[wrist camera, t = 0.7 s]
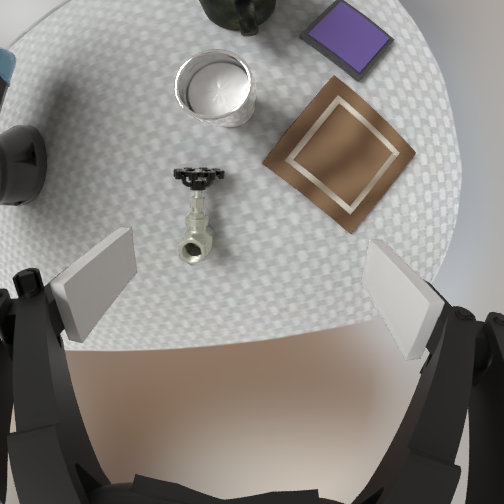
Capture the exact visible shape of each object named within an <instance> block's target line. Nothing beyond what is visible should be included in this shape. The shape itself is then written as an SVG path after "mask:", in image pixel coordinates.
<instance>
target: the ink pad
mask: <svg viewBox="0 0 504 504" xmlns="http://www.w3.org/2000/svg"><path fill="white" fill-rule="evenodd" d="M300 39H301V40H303V41H304V42H306V43H307V44H309V45H310V46H312V47H313V48H315V49H316V50H317V51H319V52H320V53H322V54H323V55H324V56H326V57H327V58H328V59H330V60H331V61H332V62H334V63H335V64H336V65H338V66H339V67H340V68H341V69H343V70H344V71H345V72H346V73H348V74H349V75H350V76H351V77H352V78H354V79H355V80H356V81H359V80H360V79H361V78H362V77H363V75H364V74H365V73H366V72H367V71H368V70H369V68H370V67H371V66H372V65H373V64H374V63H375V61H376V60H377V59H378V58H379V57H380V56H381V54H382V53H383V52H384V51H385V50H386V49H387V48H388V46H389V45H390V44H391V43H392V42H393V41H394V39H393V38H392V37H391V36H389V35H388V34H387V33H386V32H385V31H384V30H382V29H381V28H380V27H379V26H377V25H376V24H375V23H374V22H372V21H371V20H370V19H369V18H367V17H366V16H365V15H363V14H362V13H361V12H359V11H358V10H357V9H355V8H354V7H352V6H351V5H350V4H348V3H347V2H345V1H344V0H336V1H335V2H334V3H333V4H332V5H330V6H329V7H328V8H327V9H326V10H325V11H324V12H323V13H322V14H321V15H320V16H319V17H318V18H317V19H316V20H315V21H314V22H313V23H312V24H311V25H310V26H309V27H308V28H307V29H306V30H305V31H304V32H303V33H302V34H301V35H300Z"/></svg>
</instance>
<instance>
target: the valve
mask: <svg viewBox="0 0 504 504" xmlns="http://www.w3.org/2000/svg"><path fill="white" fill-rule="evenodd" d="M224 172H225V171H224V170H220V169H217V168H213V169H207V168H206V167H200V168H199V169H192V168H190V167H185V168H184V169H174V177H175V179H181V181H182V183H183V184H184V185H185V186H187V187H190V189H191V190H194V196H193V197H191V208H193V211H192V212H191V213H190V215H188V216H187V217H186V225H187V226H189V230H188V231H187V232H186V233H185V234H184V236H183V238H182V240H181V242H180V243H179V258H181V259H182V260H183V261H185V262H186V263H188V264H190V265H195V264H197V263H199V262H201V261H203V260H205V258H206V256H207V254H208V253H209V252H210V250H211V248H212V243H213V230H212V229H211V228H209V227H208V226H207V225H208V221H209V217H208V216H206V215H204V212H203V211H202V208H204V205H205V197H203V196H202V190H205V189H206V187H209V186H211V184H212V182H213V180H215V177H216V176H218V177H219V179H224ZM186 177H189V180H190V181H191V182H187V181H186ZM205 177H207V183H206V178H205Z"/></svg>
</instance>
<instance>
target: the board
mask: <svg viewBox="0 0 504 504" xmlns="http://www.w3.org/2000/svg"><path fill="white" fill-rule="evenodd" d="M415 153H416V152H415V151H414V150H413V149H412V148H411V147H410V146H409V145H408V143H407V142H406V141H405V140H404V139H403V138H402V137H401V136H400V135H399V134H398V133H397V132H396V131H395V130H394V129H393V128H392V127H391V126H390V125H389V124H388V123H387V122H386V121H385V120H384V119H383V118H382V117H381V116H380V115H379V114H378V113H377V112H376V111H375V110H374V109H373V108H372V107H371V106H370V105H369V104H367V103H366V102H365V101H364V100H363V99H362V98H361V97H360V96H359V95H357V94H356V93H355V92H354V91H353V90H352V89H350V88H349V87H348V86H347V85H346V84H344V83H343V82H342V81H341V80H339V79H338V78H337V77H336V76H333V77H332V78H331V79H330V80H329V81H328V82H327V84H326V85H325V86H324V87H323V88H322V89H321V91H320V92H319V93H318V94H317V95H316V97H315V98H314V99H313V100H312V101H311V103H310V104H309V105H308V106H307V107H306V109H305V110H304V111H303V112H302V113H301V115H300V116H299V117H298V118H297V120H296V121H295V122H294V123H293V125H292V126H291V127H290V128H289V129H288V131H287V132H286V133H285V134H284V136H283V137H282V138H281V139H280V141H279V142H278V143H277V145H276V146H275V147H274V148H273V150H272V151H271V152H270V153H269V155H268V156H267V157H266V159H265V160H264V161H263V162H262V164H264V165H265V166H266V167H268V168H269V169H270V170H272V171H273V172H275V173H276V174H277V175H278V176H280V177H281V178H282V179H284V180H285V181H286V182H288V183H289V184H290V185H292V186H293V187H294V188H295V189H297V190H298V191H299V192H300V193H302V194H303V195H304V196H306V197H307V198H308V199H309V200H311V201H312V202H313V203H314V204H315V205H317V206H318V207H319V208H320V209H322V210H323V211H324V212H325V213H326V214H328V215H329V216H330V217H331V218H332V219H334V220H335V221H336V222H337V223H338V224H340V225H341V226H342V227H343V228H344V229H345V230H347V231H348V232H349V233H350V234H351V233H352V232H353V231H354V230H355V229H356V227H357V226H358V225H359V224H360V223H361V221H362V220H363V219H364V218H365V217H366V215H367V214H368V213H369V212H370V211H371V209H372V208H373V207H374V206H375V205H376V203H377V202H378V201H379V200H380V198H381V197H382V196H383V195H384V193H385V192H386V191H387V190H388V188H389V187H390V186H391V185H392V183H393V182H394V181H395V179H396V178H397V177H398V176H399V174H400V173H401V172H402V170H403V169H404V168H405V167H406V165H407V164H408V163H409V161H410V160H411V159H412V157H413V156H414V155H415Z"/></svg>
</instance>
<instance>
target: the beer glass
mask: <svg viewBox="0 0 504 504" xmlns="http://www.w3.org/2000/svg"><path fill="white" fill-rule="evenodd" d="M175 95H176V99H177V101H178V103H179V105H180V106H181V107H182V109H183V110H184V111H186V112H187V113H188V114H190V115H191V116H193V117H194V118H196V119H197V120H199V121H201V122H203V123H206V124H209V125H214V126H225V127H237V126H240V125H242V124H244V123H246V122H247V121H248V120H249V119H250V118H251V116H252V114H253V112H254V107H255V99H256V84H255V80H254V77H253V75H252V73H251V71H250V68H249V67H248V65H247V63H246V62H245V61H244V60H243V59H242V58H241V57H239V56H238V55H236V54H234V53H232V52H230V51H226V50H220V49H213V50H207V51H203V52H200V53H198V54H196V55H194V56H193V57H191V58H190V59H189V60H187V61H186V62H185V63H184V64H183V66H182V67H181V68H180V70H179V72H178V74H177V77H176V80H175Z"/></svg>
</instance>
